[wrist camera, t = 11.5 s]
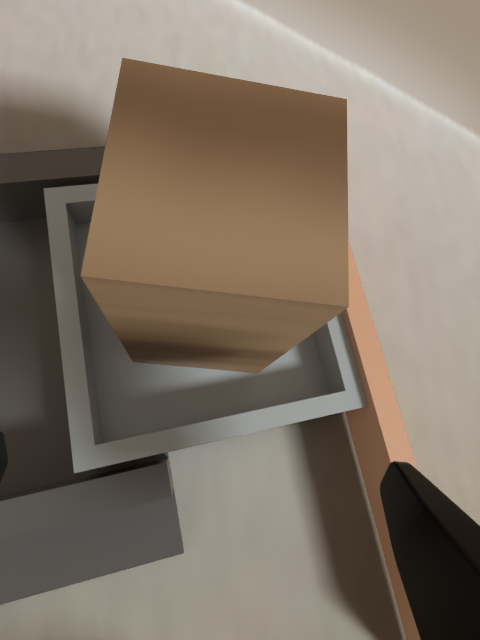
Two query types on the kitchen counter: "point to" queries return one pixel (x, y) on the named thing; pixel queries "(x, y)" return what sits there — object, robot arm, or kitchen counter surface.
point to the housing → (59, 416)
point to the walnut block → (218, 218)
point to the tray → (217, 382)
